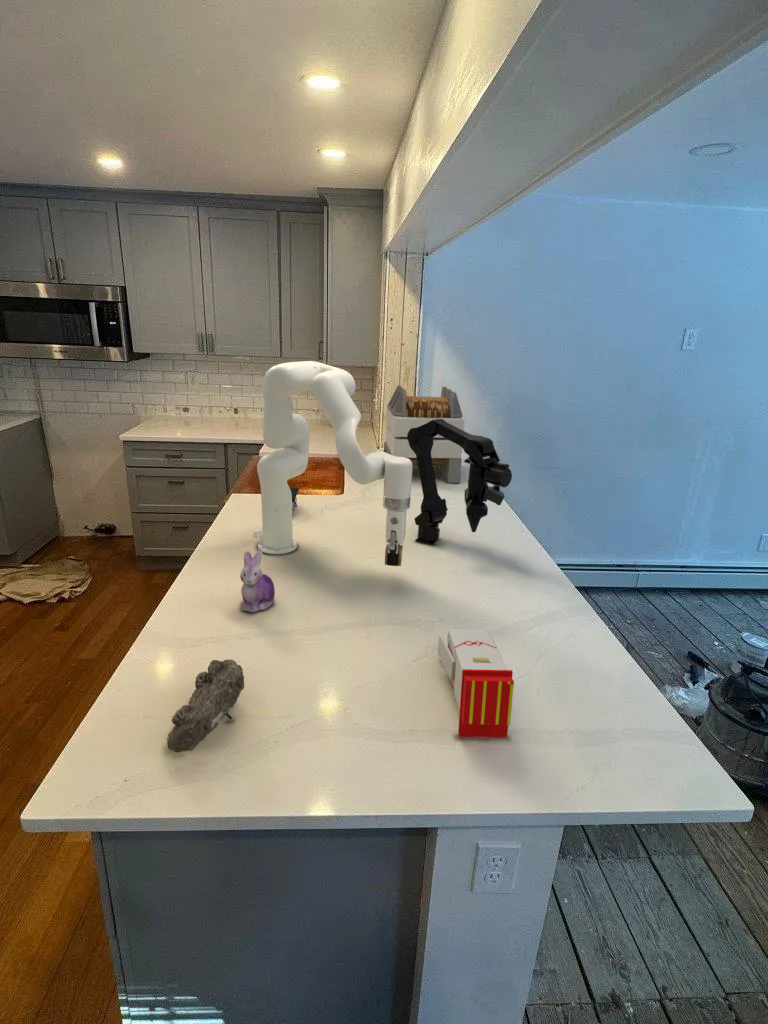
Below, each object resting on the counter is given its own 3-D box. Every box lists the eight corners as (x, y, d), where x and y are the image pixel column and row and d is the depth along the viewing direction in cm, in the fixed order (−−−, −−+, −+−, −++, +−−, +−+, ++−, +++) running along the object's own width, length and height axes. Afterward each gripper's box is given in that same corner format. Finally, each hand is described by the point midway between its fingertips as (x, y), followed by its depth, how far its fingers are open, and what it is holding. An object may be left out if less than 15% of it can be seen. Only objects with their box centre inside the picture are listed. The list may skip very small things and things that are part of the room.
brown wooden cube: (400, 566, 161) (401, 551, 160) (384, 564, 162) (385, 549, 160) (401, 560, 165) (402, 545, 163) (386, 558, 165) (386, 543, 164)
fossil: (192, 660, 117) (244, 628, 112) (224, 691, 120) (276, 661, 115) (142, 746, 98) (202, 712, 93) (182, 779, 101) (242, 748, 96)
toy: (488, 613, 130) (523, 677, 101) (484, 667, 133) (517, 744, 104) (435, 612, 130) (455, 676, 101) (432, 666, 133) (451, 743, 103)
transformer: (382, 463, 289) (386, 382, 275) (445, 464, 293) (451, 384, 279) (390, 482, 257) (394, 392, 243) (460, 483, 261) (468, 394, 247)
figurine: (245, 617, 142) (242, 562, 137) (235, 598, 151) (232, 547, 146) (281, 609, 147) (280, 556, 142) (270, 592, 155) (268, 541, 150)
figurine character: (295, 520, 211) (299, 503, 225) (294, 502, 208) (299, 485, 221) (277, 519, 211) (282, 502, 224) (276, 501, 208) (282, 485, 221)
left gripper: (407, 513, 149) (403, 575, 155) (412, 493, 165) (408, 551, 171) (379, 510, 150) (376, 573, 156) (386, 491, 165) (383, 549, 171)
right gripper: (507, 490, 164) (501, 539, 170) (501, 472, 182) (496, 518, 187) (469, 487, 165) (464, 537, 170) (466, 470, 183) (462, 515, 188)
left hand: (393, 561), depth 163 cm, fingers closed on brown wooden cube, 4 cm apart
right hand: (472, 526), depth 179 cm, fingers open, 9 cm apart
